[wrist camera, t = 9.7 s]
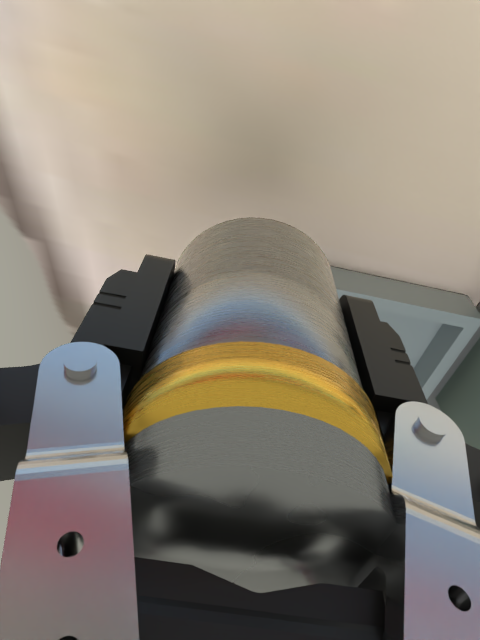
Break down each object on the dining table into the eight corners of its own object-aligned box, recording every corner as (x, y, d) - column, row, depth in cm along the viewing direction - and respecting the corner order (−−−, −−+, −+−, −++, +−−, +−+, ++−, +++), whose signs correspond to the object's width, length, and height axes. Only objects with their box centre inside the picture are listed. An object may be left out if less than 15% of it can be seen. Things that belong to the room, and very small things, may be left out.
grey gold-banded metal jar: (308, 367, 13) (342, 633, 8) (161, 340, 13) (84, 601, 7) (363, 235, 11) (479, 496, 5) (180, 195, 10) (77, 432, 5)
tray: (391, 410, 33) (400, 436, 31) (253, 384, 32) (253, 410, 30) (467, 295, 26) (484, 319, 24) (296, 258, 25) (299, 281, 23)
